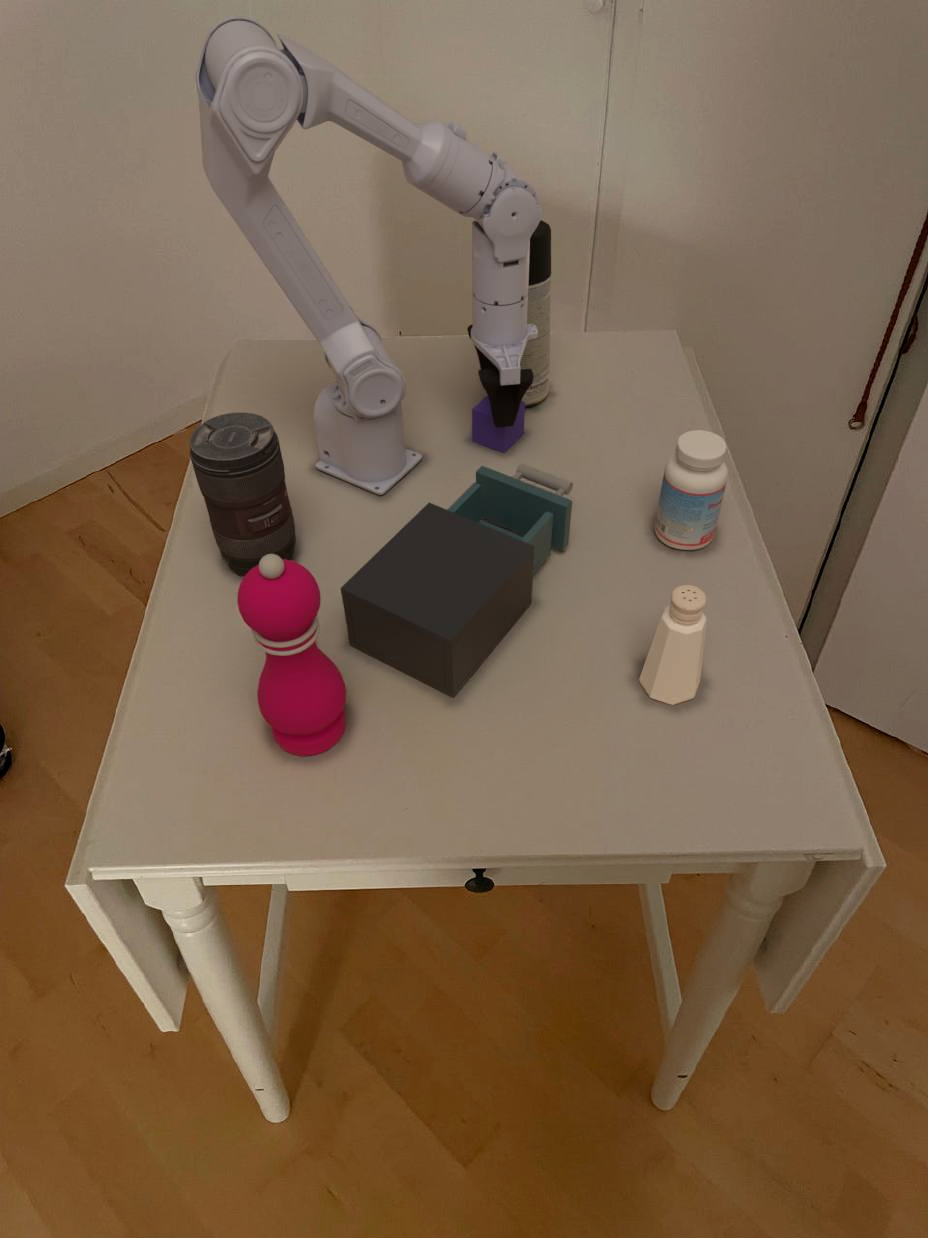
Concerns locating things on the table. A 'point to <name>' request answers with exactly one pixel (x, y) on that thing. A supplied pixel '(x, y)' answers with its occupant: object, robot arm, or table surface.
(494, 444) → the purple upright block
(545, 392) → the spray can
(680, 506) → the pill bottle
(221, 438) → the camera lens
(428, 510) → the dark drawer box
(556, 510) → the teal drawer
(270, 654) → the pepper mill
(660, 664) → the salt shaker
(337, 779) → the table surface
